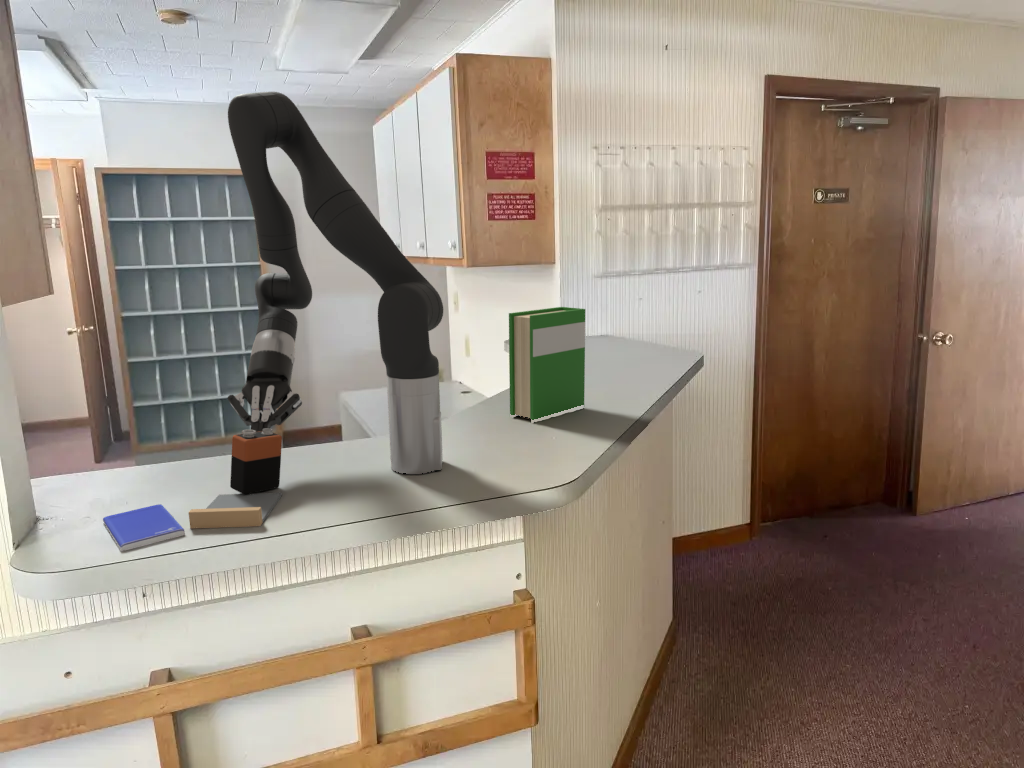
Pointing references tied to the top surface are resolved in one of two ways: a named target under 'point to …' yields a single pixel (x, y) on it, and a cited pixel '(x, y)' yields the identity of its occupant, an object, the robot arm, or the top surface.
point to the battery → (255, 461)
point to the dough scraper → (234, 511)
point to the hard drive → (142, 527)
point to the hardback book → (546, 361)
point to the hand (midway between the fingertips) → (257, 444)
